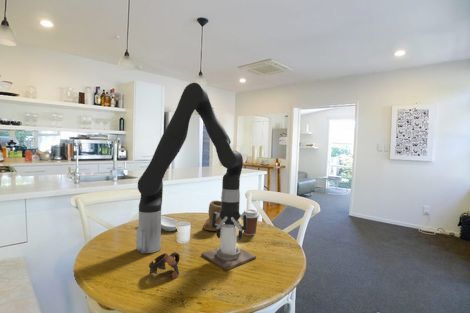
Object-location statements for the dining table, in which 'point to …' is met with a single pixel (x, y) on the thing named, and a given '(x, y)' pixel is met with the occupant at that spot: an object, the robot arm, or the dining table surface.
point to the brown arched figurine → (161, 263)
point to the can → (228, 239)
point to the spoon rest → (168, 223)
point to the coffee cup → (251, 221)
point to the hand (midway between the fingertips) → (229, 238)
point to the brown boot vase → (213, 207)
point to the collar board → (227, 262)
